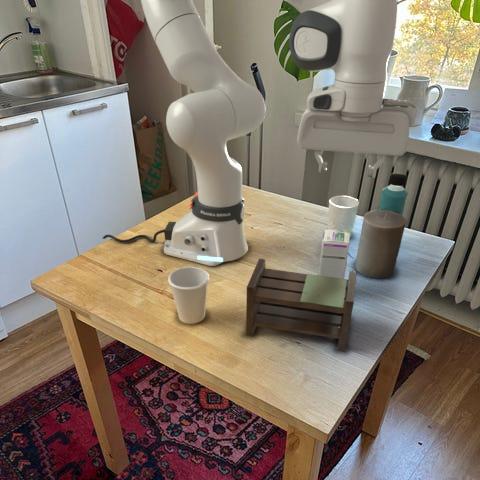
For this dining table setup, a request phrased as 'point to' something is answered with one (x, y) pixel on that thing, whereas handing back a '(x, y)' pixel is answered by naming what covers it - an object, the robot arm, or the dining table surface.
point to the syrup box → (334, 253)
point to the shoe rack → (300, 302)
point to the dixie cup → (189, 293)
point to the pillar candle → (379, 243)
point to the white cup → (342, 213)
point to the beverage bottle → (394, 194)
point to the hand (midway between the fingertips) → (346, 174)
